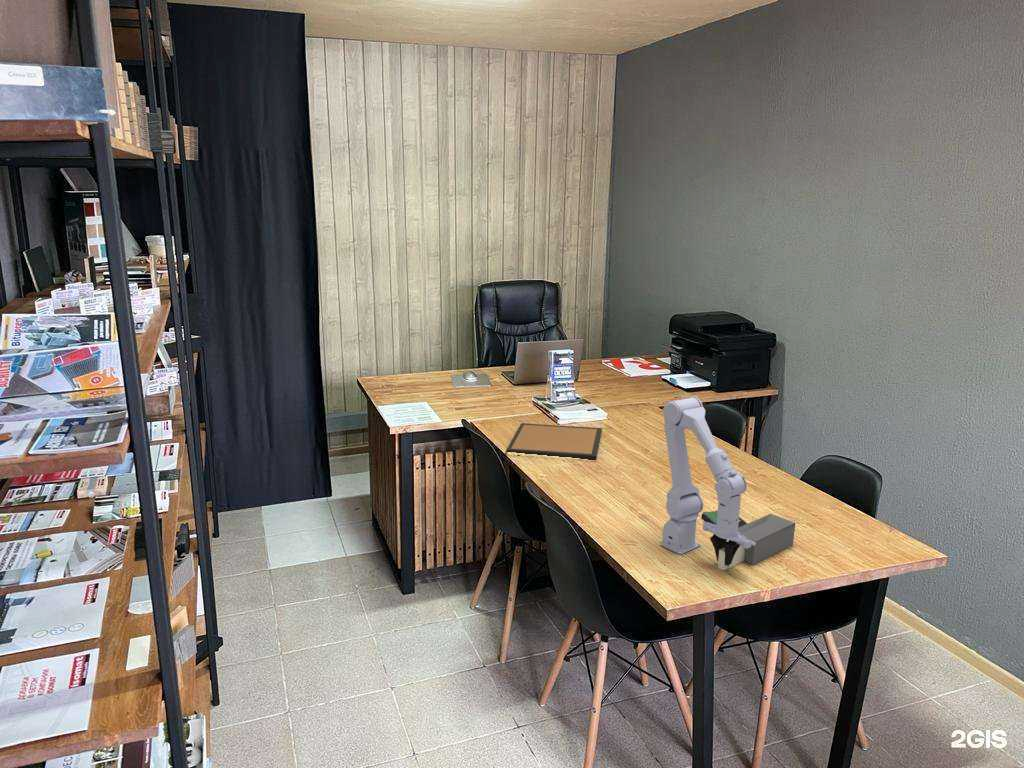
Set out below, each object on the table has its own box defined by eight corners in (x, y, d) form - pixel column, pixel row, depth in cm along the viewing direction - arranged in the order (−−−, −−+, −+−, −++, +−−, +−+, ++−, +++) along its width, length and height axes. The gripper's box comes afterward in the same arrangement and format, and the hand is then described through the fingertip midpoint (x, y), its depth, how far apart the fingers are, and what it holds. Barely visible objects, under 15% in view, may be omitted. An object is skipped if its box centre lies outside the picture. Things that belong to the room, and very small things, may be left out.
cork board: (506, 456, 295) (596, 462, 289) (506, 449, 294) (596, 455, 288) (521, 429, 329) (601, 434, 323) (521, 423, 328) (602, 428, 322)
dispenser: (751, 566, 209) (753, 542, 207) (725, 554, 215) (727, 531, 213) (793, 545, 221) (796, 523, 219) (767, 535, 228) (770, 513, 226)
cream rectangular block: (723, 570, 206) (725, 552, 205) (717, 567, 208) (719, 549, 206) (757, 553, 216) (759, 536, 214) (751, 551, 217) (753, 533, 216)
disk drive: (753, 537, 228) (729, 516, 242) (754, 528, 227) (730, 508, 241) (722, 540, 226) (700, 519, 240) (723, 531, 225) (700, 511, 239)
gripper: (759, 522, 201) (755, 568, 204) (715, 504, 212) (711, 548, 215) (744, 529, 197) (739, 576, 200) (699, 511, 208) (695, 555, 211)
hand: (724, 562), depth 207 cm, fingers closed on cream rectangular block, 2 cm apart
